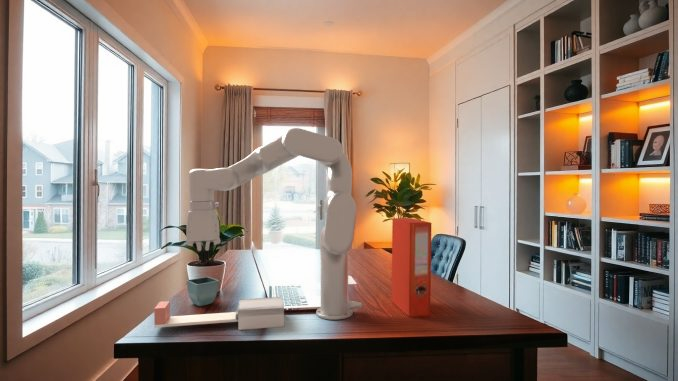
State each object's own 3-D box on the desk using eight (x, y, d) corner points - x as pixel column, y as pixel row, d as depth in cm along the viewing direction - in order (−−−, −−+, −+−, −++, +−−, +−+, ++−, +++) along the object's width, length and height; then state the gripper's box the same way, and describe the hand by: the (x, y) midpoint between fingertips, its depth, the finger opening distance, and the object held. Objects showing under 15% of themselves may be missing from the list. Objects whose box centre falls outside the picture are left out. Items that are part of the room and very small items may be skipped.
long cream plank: (243, 313, 131) (243, 296, 131) (243, 321, 125) (243, 302, 124) (159, 319, 126) (159, 301, 126) (154, 327, 119) (154, 308, 119)
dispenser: (281, 314, 137) (281, 296, 136) (284, 326, 125) (283, 307, 125) (236, 317, 133) (236, 299, 133) (235, 330, 122) (235, 310, 122)
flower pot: (219, 303, 148) (219, 280, 148) (197, 309, 142) (197, 284, 142) (207, 299, 154) (207, 276, 154) (186, 304, 148) (185, 280, 148)
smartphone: (341, 284, 175) (335, 276, 190) (341, 286, 176) (335, 277, 190) (357, 283, 177) (350, 275, 191) (357, 285, 177) (350, 277, 191)
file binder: (411, 300, 152) (411, 217, 151) (431, 315, 135) (431, 222, 134) (391, 302, 150) (391, 218, 149) (408, 317, 133) (409, 222, 133)
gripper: (226, 205, 134) (228, 258, 135) (179, 207, 131) (181, 261, 131) (225, 206, 127) (227, 263, 128) (176, 208, 124) (178, 266, 124)
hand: (204, 262), depth 129 cm, fingers closed
